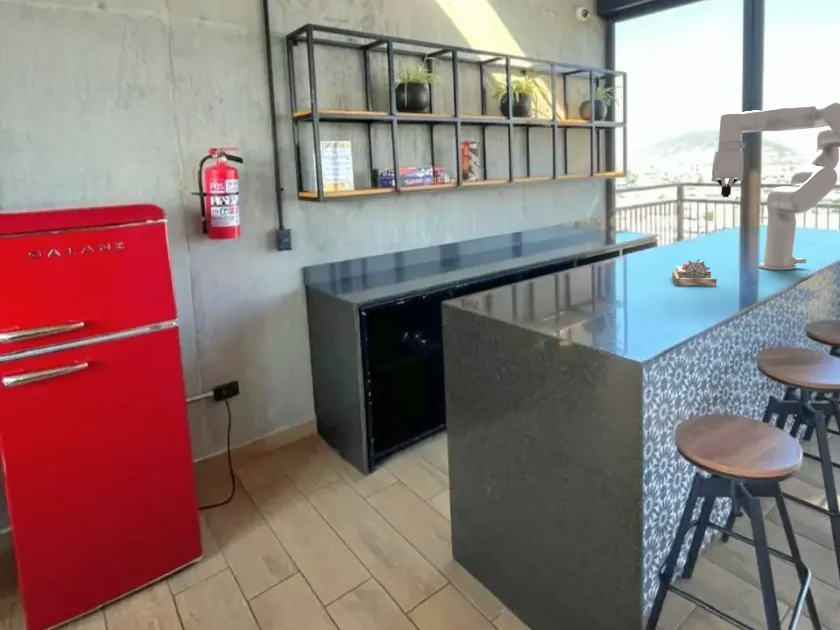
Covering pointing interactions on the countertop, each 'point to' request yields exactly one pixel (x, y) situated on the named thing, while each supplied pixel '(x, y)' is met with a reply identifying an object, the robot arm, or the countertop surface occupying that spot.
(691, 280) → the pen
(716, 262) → the countertop surface
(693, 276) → the game die
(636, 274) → the countertop surface
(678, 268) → the collar
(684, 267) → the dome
